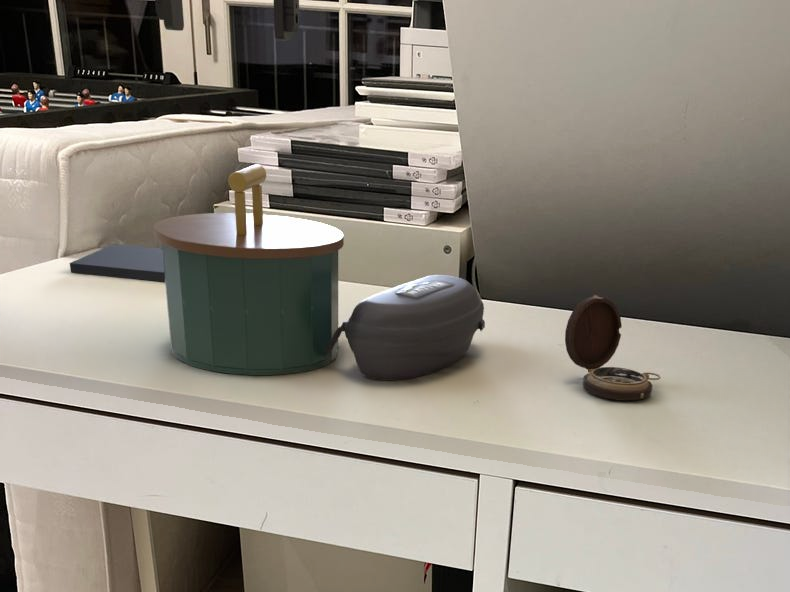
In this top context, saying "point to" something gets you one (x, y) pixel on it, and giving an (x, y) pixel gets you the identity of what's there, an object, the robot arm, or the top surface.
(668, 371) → the top surface
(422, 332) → the glasses case
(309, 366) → the toy tin
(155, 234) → the lid
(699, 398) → the top surface
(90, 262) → the mat
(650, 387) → the compass
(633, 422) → the top surface
